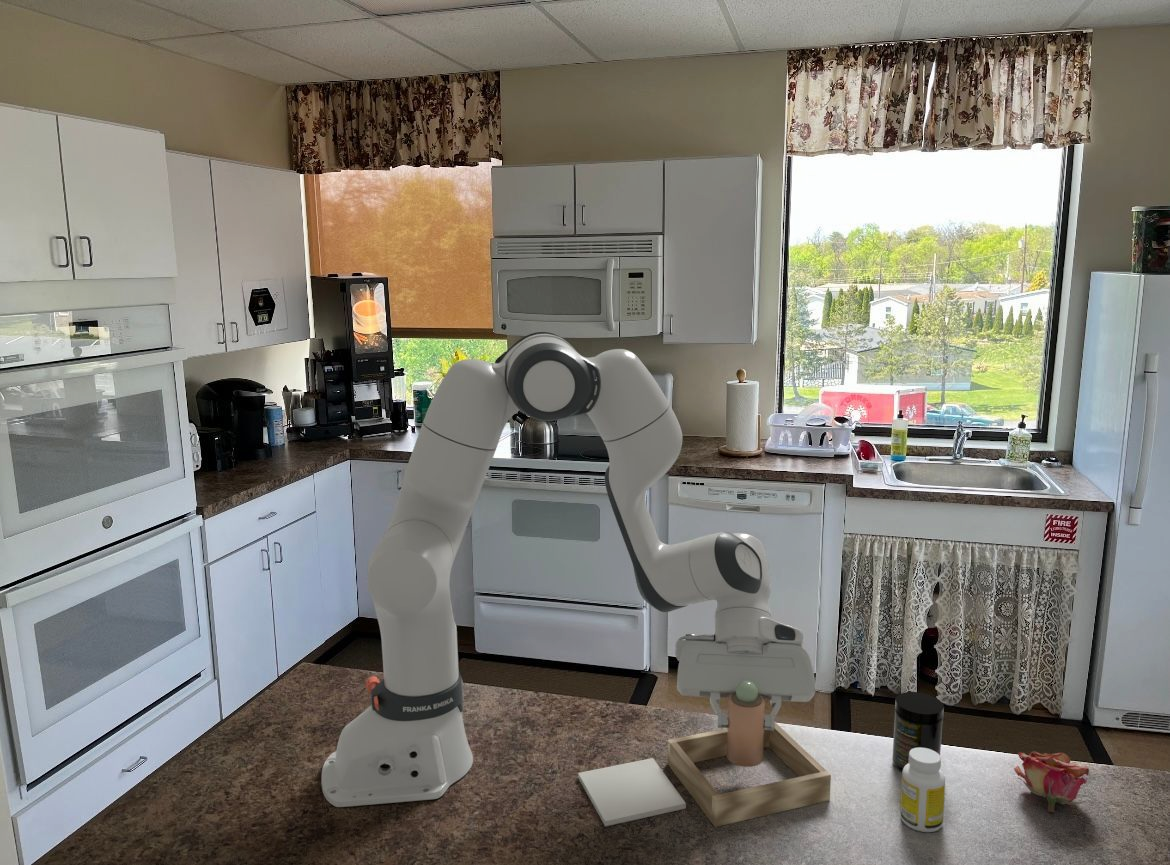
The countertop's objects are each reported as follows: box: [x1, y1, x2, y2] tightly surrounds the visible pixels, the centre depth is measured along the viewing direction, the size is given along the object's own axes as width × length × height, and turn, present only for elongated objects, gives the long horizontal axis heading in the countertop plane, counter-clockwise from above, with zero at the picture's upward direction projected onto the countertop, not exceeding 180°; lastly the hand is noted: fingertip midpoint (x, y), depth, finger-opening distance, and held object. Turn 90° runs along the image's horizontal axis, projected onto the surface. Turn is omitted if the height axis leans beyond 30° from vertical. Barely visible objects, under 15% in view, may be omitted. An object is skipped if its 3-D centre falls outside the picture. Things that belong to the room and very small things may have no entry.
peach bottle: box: [726, 681, 766, 768], centre depth 124 cm, size 5×5×12 cm
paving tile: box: [577, 757, 687, 827], centre depth 123 cm, size 12×12×1 cm
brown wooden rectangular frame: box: [667, 722, 832, 828], centre depth 125 cm, size 18×16×4 cm
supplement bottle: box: [899, 748, 946, 833], centre depth 115 cm, size 5×5×10 cm
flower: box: [1013, 750, 1091, 814], centre depth 119 cm, size 10×9×8 cm
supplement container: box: [892, 691, 945, 773], centre depth 128 cm, size 7×7×10 cm
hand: (746, 728), depth 123 cm, fingers closed on peach bottle, 5 cm apart
